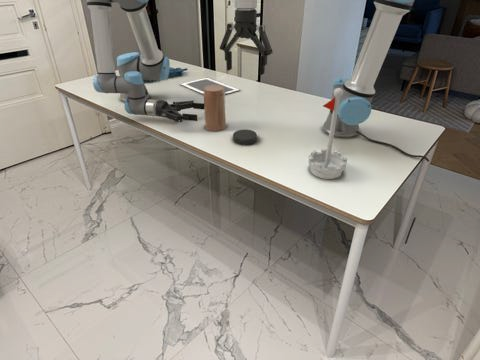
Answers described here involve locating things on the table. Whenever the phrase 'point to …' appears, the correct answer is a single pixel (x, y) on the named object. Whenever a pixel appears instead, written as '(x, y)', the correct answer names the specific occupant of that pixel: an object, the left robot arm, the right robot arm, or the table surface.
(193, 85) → the tablet
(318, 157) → the flag stand
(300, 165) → the table surface
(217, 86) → the jar
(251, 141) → the lid
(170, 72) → the submachine gun
